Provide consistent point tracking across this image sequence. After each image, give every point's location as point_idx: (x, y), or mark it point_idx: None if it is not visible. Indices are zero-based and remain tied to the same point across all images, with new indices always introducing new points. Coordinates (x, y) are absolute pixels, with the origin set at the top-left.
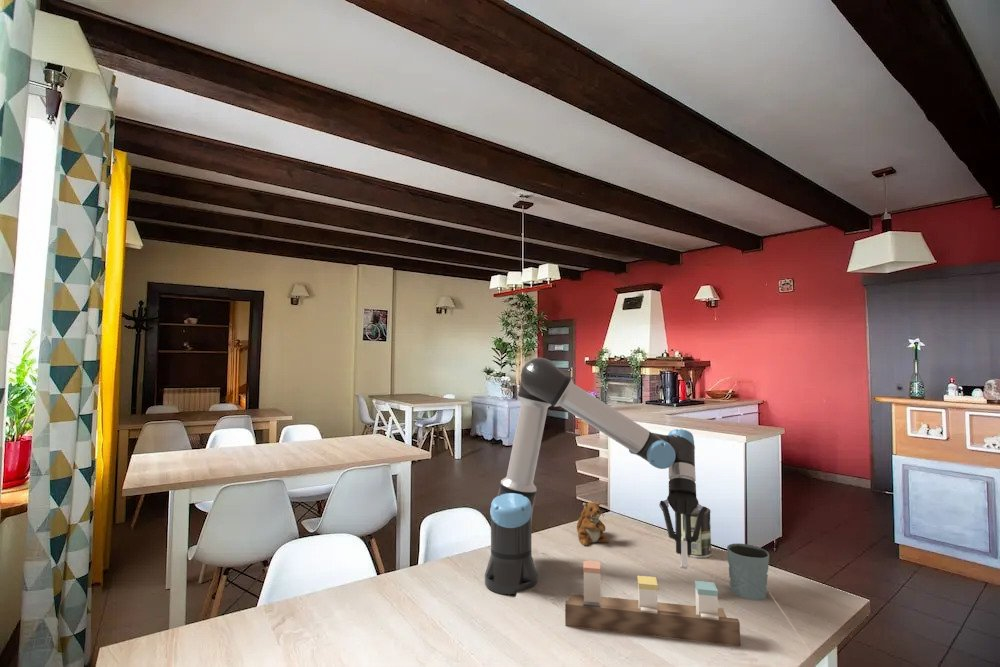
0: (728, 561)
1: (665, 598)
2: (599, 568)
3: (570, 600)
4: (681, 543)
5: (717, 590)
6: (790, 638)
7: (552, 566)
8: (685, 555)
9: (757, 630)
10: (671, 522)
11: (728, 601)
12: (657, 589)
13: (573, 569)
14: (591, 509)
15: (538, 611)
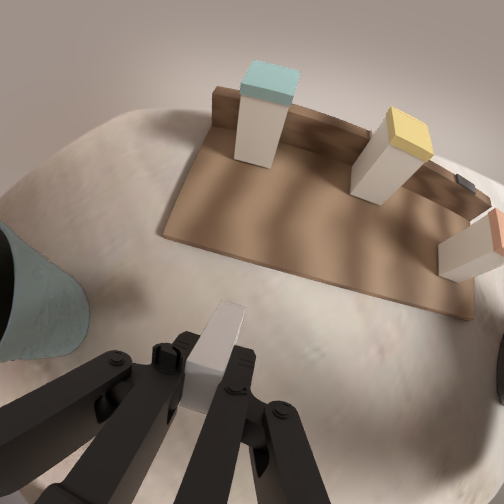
0: (39, 331)
1: (286, 324)
2: (496, 209)
3: (473, 290)
4: (227, 361)
5: (254, 60)
6: (102, 150)
7: (468, 447)
8: (220, 322)
9: (137, 171)
10: (284, 482)
11: (115, 293)
12: (387, 112)
13: (443, 449)
14: None
15: (493, 270)
